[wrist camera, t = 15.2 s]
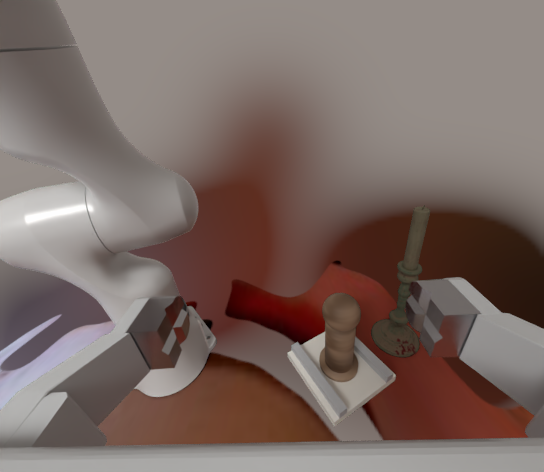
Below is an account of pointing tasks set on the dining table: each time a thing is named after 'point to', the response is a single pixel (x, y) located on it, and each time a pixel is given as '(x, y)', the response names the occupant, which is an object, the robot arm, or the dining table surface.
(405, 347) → the candlestick holder
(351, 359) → the tan wooden upright piece
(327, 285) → the dining table surface
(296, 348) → the tray
